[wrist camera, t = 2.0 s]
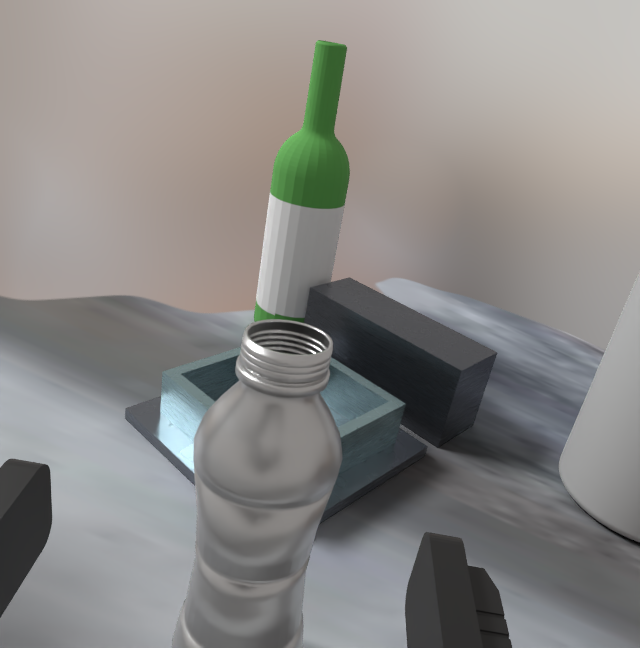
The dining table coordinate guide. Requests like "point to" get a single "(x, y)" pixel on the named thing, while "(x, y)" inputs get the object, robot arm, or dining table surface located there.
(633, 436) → the cylinder vase
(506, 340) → the dining table surface
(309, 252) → the wine bottle
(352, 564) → the dining table surface
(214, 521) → the plastic bottle
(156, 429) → the teal open bin
